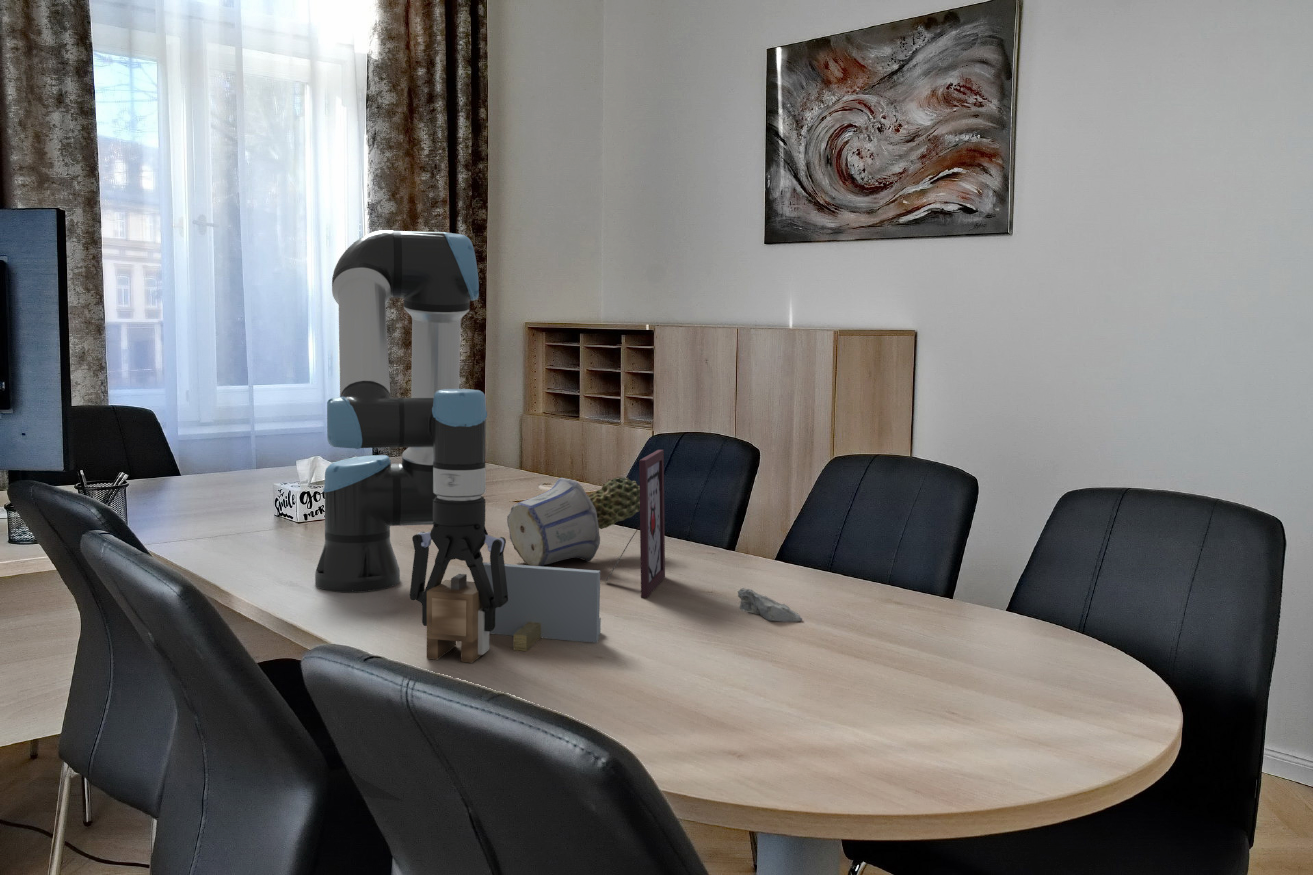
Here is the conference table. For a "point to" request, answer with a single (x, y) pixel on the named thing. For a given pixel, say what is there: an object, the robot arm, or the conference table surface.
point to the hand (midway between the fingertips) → (458, 649)
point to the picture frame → (651, 522)
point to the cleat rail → (527, 636)
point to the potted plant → (569, 520)
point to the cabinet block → (453, 618)
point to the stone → (766, 607)
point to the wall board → (550, 602)
